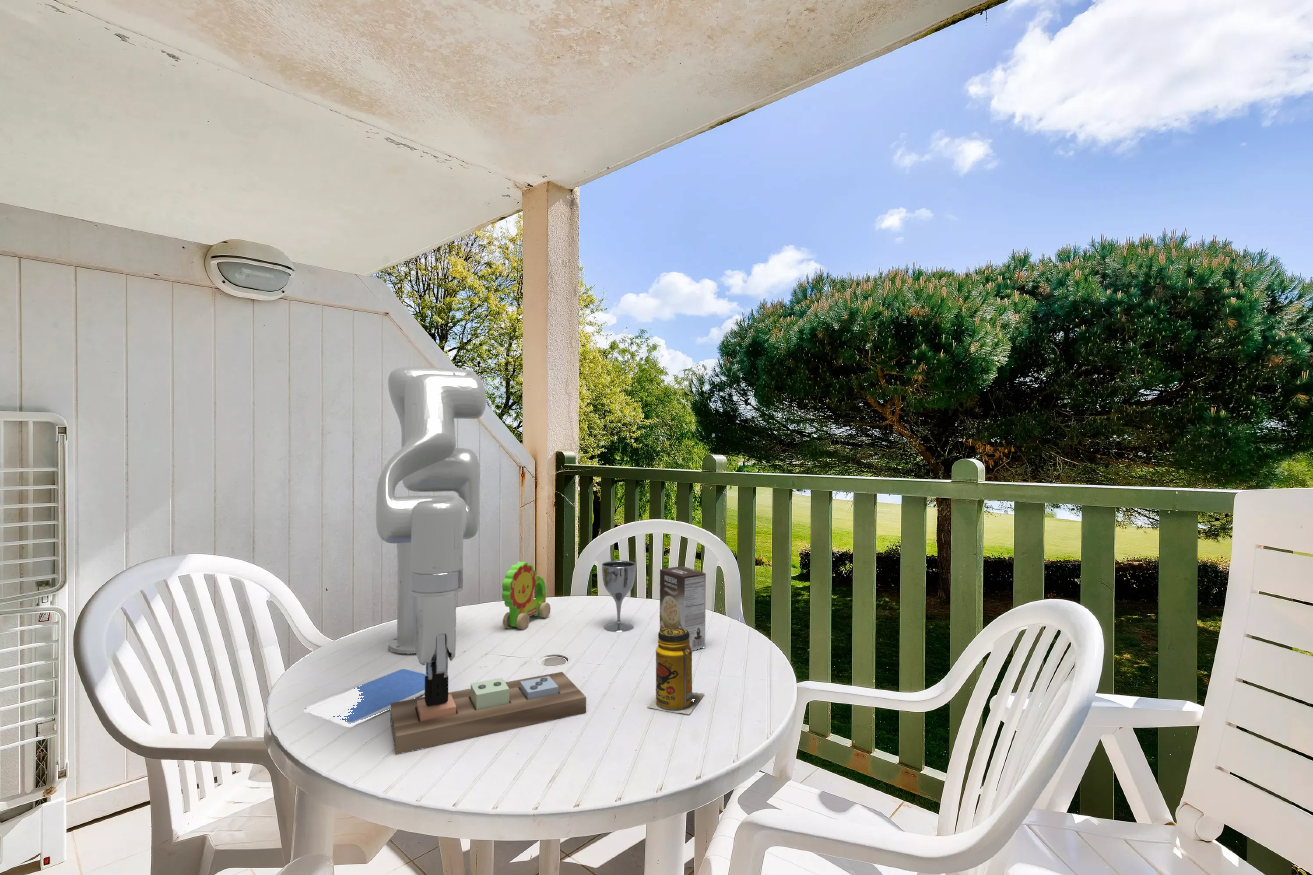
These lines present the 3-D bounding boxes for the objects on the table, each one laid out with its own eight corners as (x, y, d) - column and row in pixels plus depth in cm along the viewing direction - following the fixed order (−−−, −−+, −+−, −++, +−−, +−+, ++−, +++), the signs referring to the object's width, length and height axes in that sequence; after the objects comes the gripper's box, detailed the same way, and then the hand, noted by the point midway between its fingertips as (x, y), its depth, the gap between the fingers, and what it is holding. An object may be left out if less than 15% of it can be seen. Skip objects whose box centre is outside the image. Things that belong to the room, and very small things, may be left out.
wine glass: (606, 621, 144) (606, 560, 145) (638, 622, 143) (638, 560, 144) (598, 631, 137) (598, 566, 137) (632, 632, 135) (632, 567, 136)
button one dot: (416, 719, 91) (417, 698, 91) (450, 713, 93) (451, 692, 93) (420, 733, 86) (420, 711, 87) (455, 726, 89) (456, 705, 89)
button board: (390, 719, 92) (390, 702, 92) (562, 685, 105) (562, 671, 105) (396, 754, 82) (396, 736, 82) (586, 712, 95) (586, 696, 95)
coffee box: (658, 642, 129) (658, 568, 129) (681, 636, 133) (681, 565, 133) (683, 654, 122) (683, 576, 122) (707, 648, 125) (707, 572, 125)
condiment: (646, 708, 96) (647, 634, 97) (665, 688, 104) (665, 620, 104) (689, 715, 94) (689, 640, 94) (704, 695, 102) (704, 625, 102)
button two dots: (470, 702, 95) (470, 681, 95) (501, 695, 97) (502, 676, 97) (476, 714, 90) (476, 693, 90) (509, 707, 93) (509, 687, 93)
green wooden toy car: (533, 614, 151) (533, 554, 151) (551, 616, 149) (552, 555, 149) (495, 632, 136) (495, 566, 136) (515, 634, 134) (515, 567, 135)
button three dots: (520, 699, 98) (520, 680, 98) (549, 693, 101) (549, 674, 101) (528, 711, 94) (528, 691, 94) (558, 705, 96) (558, 685, 96)
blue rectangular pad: (349, 732, 89) (349, 723, 89) (300, 714, 95) (300, 706, 95) (450, 686, 106) (450, 679, 106) (403, 673, 112) (403, 666, 112)
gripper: (406, 574, 95) (405, 689, 95) (415, 594, 82) (414, 728, 81) (455, 570, 99) (454, 680, 98) (471, 588, 85) (470, 716, 85)
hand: (436, 701), depth 90 cm, fingers closed
